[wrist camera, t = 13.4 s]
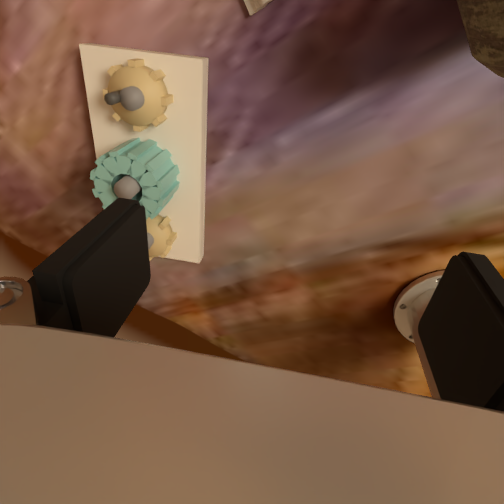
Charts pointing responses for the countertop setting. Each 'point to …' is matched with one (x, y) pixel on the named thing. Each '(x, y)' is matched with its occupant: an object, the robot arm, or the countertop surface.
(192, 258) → the gear board
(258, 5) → the molding
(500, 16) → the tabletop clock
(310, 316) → the countertop surface
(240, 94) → the countertop surface
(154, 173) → the loose gear
